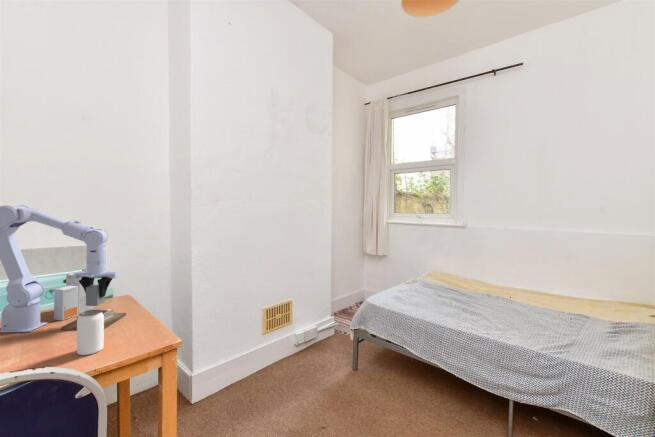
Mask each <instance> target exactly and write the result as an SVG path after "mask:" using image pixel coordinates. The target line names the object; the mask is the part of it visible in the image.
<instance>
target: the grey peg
mask: <svg viewBox="0 0 655 437" xmlns="http://www.w3.org/2000/svg"><path fill="white" fill-rule="evenodd" d="M102 304H105V296H104V297H100V295H99V285H98V284H95V285H91V286H88V287H86V306H94V307H98V306H100V305H102Z"/></svg>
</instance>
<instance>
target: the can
mask: <svg viewBox="0 0 655 437" xmlns="http://www.w3.org/2000/svg"><path fill="white" fill-rule="evenodd" d="M78 316H79V317H78ZM78 316H77V317H78V319H77V318H76V320H77V330H76V353H77V355H79V356H90V355H94V354H97V353H99V352H101V351H102V350H103V349H104V347H105V346H104V345H105V343H104V342H105V336H104V335H105V334H104V333H105V329H104V315H103V313H102V310H92V309H91V310H87V311H84V312H81V313H78Z"/></svg>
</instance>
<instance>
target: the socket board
mask: <svg viewBox="0 0 655 437" xmlns="http://www.w3.org/2000/svg"><path fill="white" fill-rule="evenodd" d="M91 310H102V313H103V315H104V330H105V329H107V328H108V327H110V326H112V325H113V324H115V323H116V322H117V321H119V320H120V319H122V318H124V317H126V316H127V312H114V311H115V309H114V308H113V309H110V308H109V309H104V308H103V309H102V308H101V309H100V308H99V309H95V308H94V309H91ZM78 317H79V315H77V316H76V319H75V320H73V321H71V322H69V323H67V324H65V325H63V326H61V331H71V330H72V331H74V330H75V331H77V319H78Z"/></svg>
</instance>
